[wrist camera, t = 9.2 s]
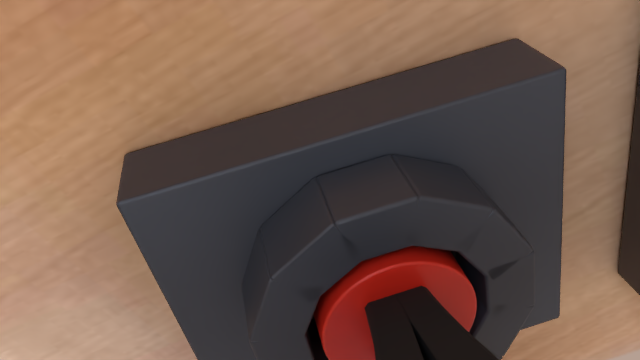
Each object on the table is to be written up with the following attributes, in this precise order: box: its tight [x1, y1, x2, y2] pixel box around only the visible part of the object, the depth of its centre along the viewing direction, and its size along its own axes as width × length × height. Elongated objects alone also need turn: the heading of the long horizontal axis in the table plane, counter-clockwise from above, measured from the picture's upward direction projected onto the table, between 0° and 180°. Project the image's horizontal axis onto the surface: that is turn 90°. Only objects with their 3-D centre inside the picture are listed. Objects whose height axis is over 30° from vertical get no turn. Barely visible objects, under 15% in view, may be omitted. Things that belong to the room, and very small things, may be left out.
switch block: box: [116, 39, 566, 360], centre depth 14 cm, size 10×8×4 cm
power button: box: [314, 246, 477, 360], centre depth 13 cm, size 4×4×2 cm
